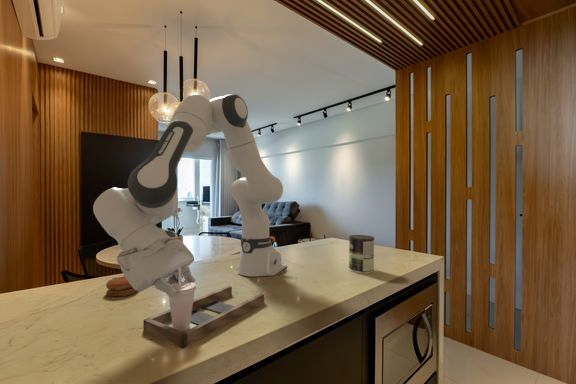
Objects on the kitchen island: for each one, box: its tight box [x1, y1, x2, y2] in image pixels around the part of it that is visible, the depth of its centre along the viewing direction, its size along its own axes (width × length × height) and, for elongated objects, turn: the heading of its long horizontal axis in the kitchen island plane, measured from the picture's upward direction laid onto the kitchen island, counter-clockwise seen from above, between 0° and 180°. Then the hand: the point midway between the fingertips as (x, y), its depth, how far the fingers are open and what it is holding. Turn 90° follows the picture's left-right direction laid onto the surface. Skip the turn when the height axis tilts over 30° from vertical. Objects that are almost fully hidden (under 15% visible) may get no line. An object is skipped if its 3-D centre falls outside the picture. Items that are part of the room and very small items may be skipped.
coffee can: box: [348, 234, 375, 274], centre depth 115 cm, size 10×10×14 cm
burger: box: [105, 276, 139, 298], centre depth 88 cm, size 10×9×5 cm
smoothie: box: [168, 267, 197, 331], centre depth 64 cm, size 6×6×14 cm
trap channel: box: [142, 285, 265, 349], centre depth 71 cm, size 28×14×2 cm, turn 149°
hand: (184, 288), depth 64 cm, fingers closed on smoothie, 6 cm apart
